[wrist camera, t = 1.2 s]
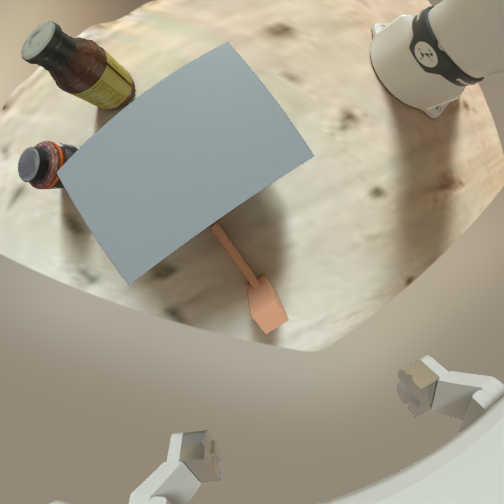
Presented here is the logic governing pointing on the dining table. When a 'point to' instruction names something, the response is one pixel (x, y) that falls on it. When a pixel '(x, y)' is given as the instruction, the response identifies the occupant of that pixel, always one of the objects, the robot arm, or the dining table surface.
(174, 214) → the grey block
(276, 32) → the dining table surface
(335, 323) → the dining table surface
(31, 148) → the supplement bottle
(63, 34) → the sauce bottle
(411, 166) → the dining table surface
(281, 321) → the square headed mallet
